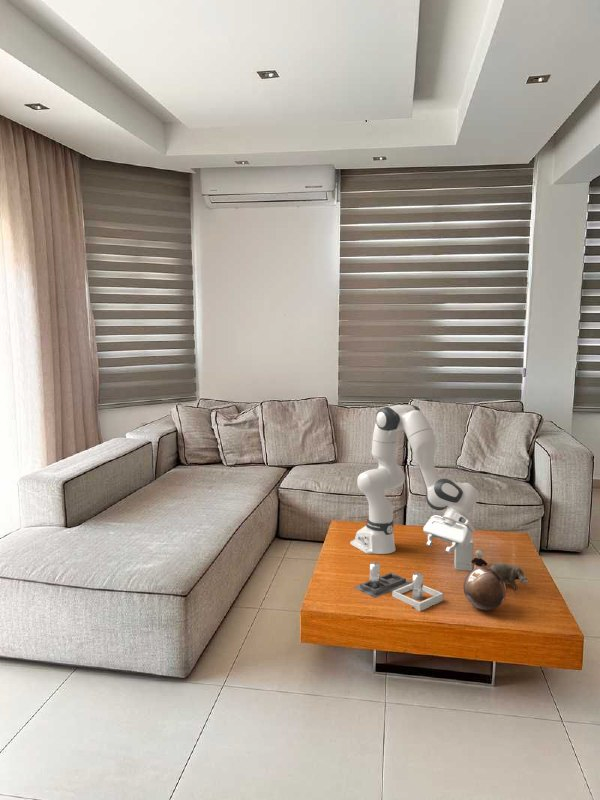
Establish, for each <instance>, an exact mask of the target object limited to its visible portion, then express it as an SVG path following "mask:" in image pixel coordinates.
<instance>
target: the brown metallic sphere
mask: <svg viewBox="0 0 600 800" xmlns="http://www.w3.org/2000/svg"><path fill="white" fill-rule="evenodd" d="M489 568H490V567H489ZM489 568H486V567H483V568H477V569H474V568H473V569H472V571H469V573H468V574H467V575H466V577H465V578H464V580H463V581H464V582H463V593H464V597H465V598H466V601H468V602H469V603H470V604H471V605H472V606H473V607H475V608H477V609H480V610H483V611H489V610H494V609H496V608H497V607H499V606H500V605H501V604H502V603H503V602H504V599H505V596H506V592H507V590H506V584H505V583H506V582H504V581H503V579H502V578H501V576H500V575H499V574H498V573H497V572H495V571H494V570H491V569H489Z"/></svg>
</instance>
